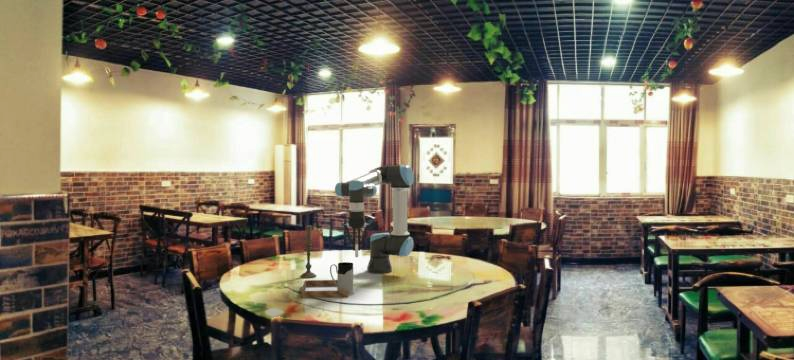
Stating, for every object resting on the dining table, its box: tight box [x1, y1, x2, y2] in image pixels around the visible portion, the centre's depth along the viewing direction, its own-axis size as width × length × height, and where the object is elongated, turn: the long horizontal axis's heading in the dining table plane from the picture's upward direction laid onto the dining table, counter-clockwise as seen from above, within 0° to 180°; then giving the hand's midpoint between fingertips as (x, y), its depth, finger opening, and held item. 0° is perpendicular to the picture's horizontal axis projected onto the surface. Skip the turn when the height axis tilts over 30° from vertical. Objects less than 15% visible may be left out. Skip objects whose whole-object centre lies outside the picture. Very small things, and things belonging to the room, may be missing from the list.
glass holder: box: [329, 262, 355, 297], centre depth 243 cm, size 9×14×15 cm, turn 57°
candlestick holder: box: [299, 225, 317, 279], centre depth 279 cm, size 9×9×30 cm
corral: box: [300, 279, 349, 299], centre depth 246 cm, size 22×24×3 cm
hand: (356, 256), depth 248 cm, fingers closed
